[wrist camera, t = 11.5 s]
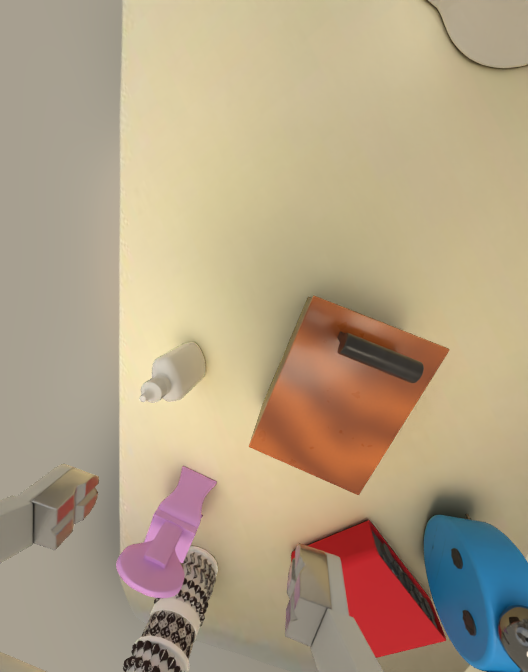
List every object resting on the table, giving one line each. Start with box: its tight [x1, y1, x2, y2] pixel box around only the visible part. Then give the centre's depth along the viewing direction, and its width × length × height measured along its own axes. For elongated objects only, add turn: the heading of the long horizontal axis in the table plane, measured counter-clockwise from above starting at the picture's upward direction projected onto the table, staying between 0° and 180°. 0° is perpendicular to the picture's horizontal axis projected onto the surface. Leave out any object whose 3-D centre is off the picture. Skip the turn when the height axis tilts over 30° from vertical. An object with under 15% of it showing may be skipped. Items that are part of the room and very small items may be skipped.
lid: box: [249, 295, 450, 495], centre depth 22 cm, size 17×13×5 cm
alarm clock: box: [424, 514, 528, 672], centre depth 29 cm, size 13×6×15 cm, turn 178°
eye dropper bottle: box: [140, 342, 206, 403], centre depth 30 cm, size 4×6×12 cm
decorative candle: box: [123, 546, 218, 672], centre depth 34 cm, size 9×9×25 cm
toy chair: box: [116, 466, 217, 598], centre depth 35 cm, size 8×9×15 cm
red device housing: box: [291, 520, 446, 658], centre depth 38 cm, size 18×14×5 cm
